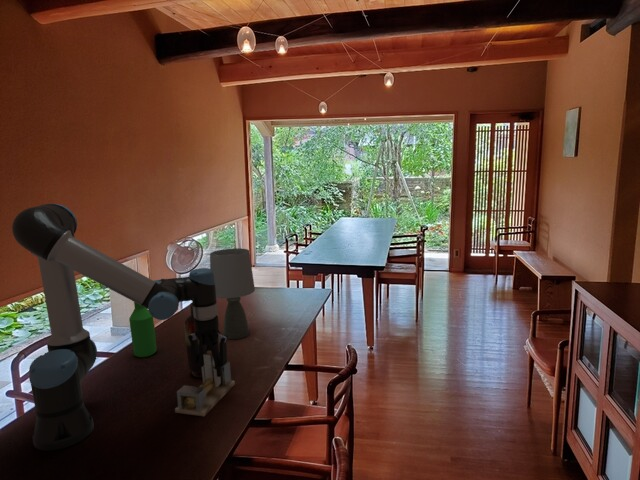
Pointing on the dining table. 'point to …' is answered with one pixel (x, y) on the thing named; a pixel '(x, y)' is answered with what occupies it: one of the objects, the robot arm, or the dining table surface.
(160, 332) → the dining table surface
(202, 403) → the sleeve
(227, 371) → the socket
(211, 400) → the plank
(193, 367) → the vase
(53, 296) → the robot arm
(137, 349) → the bottle
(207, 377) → the slide bolt
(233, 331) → the lamp
